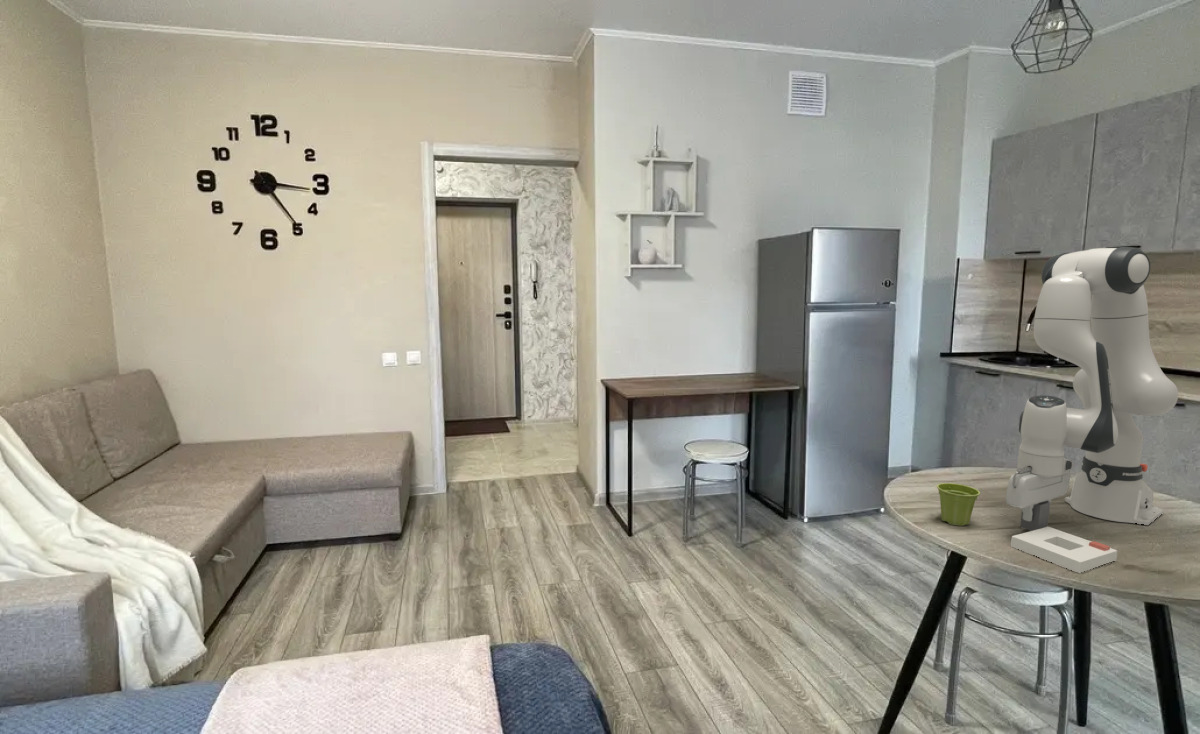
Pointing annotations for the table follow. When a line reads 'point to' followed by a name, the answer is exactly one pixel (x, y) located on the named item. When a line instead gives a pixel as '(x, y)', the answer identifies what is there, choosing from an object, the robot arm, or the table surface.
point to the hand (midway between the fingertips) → (1034, 518)
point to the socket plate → (1064, 549)
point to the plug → (1037, 517)
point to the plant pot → (957, 502)
